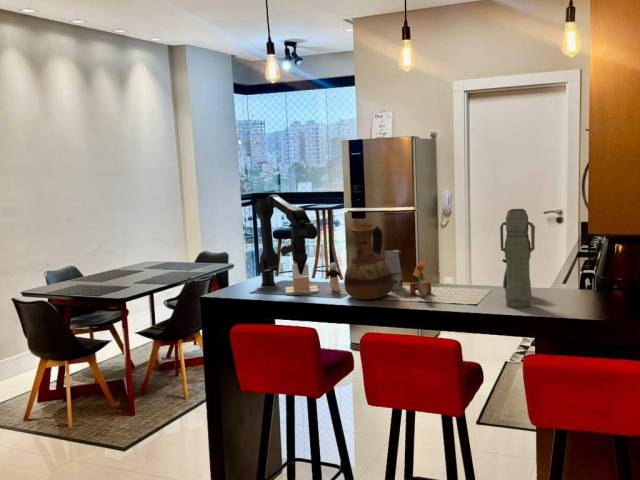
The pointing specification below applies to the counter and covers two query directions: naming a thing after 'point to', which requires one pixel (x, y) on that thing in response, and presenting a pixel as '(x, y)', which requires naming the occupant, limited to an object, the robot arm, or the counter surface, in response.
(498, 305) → the counter surface
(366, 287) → the ceramic pitcher
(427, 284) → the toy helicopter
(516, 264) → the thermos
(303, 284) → the terracotta brick
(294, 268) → the offwhite brick
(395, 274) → the coffee box
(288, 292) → the oak board
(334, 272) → the grandmother figurine
